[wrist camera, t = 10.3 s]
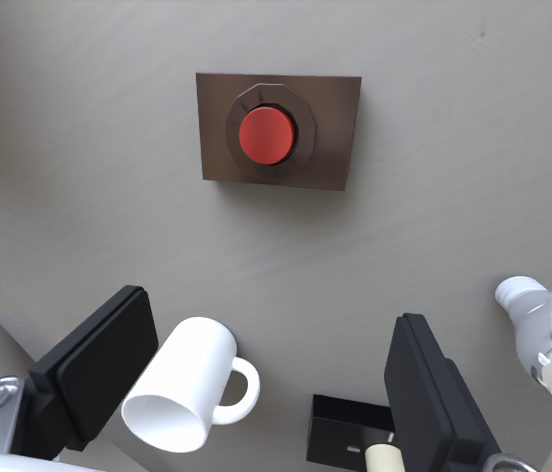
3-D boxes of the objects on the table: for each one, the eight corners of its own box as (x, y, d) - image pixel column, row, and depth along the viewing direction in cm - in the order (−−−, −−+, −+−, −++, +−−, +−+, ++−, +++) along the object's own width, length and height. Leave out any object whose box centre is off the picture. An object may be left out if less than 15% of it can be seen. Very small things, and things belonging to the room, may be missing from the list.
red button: (296, 108, 19) (294, 108, 17) (292, 162, 20) (290, 166, 19) (245, 106, 19) (238, 106, 18) (245, 159, 21) (239, 162, 19)
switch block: (358, 80, 21) (365, 73, 17) (343, 184, 24) (346, 197, 20) (206, 75, 22) (184, 68, 19) (212, 174, 26) (193, 184, 22)
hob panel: (429, 413, 33) (439, 441, 30) (411, 457, 37) (418, 485, 34) (313, 393, 35) (312, 418, 32) (307, 436, 39) (306, 462, 36)
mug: (272, 329, 32) (251, 417, 23) (264, 378, 35) (243, 472, 26) (174, 307, 33) (116, 383, 24) (176, 357, 36) (125, 440, 27)
